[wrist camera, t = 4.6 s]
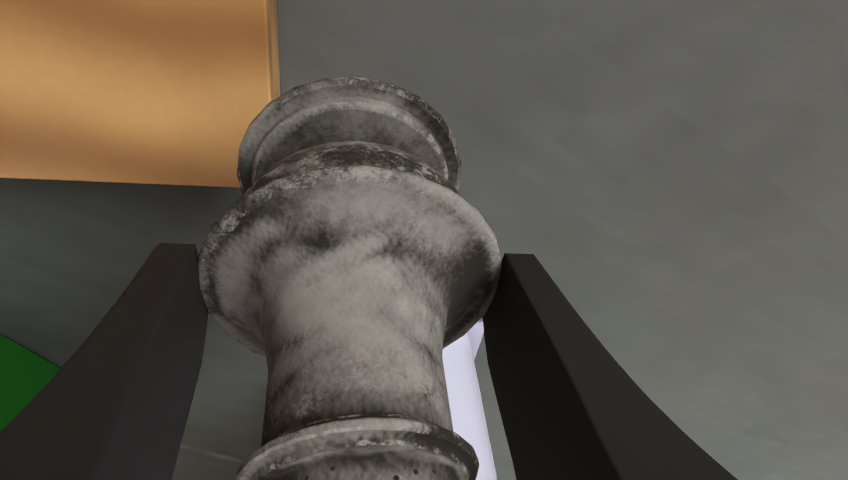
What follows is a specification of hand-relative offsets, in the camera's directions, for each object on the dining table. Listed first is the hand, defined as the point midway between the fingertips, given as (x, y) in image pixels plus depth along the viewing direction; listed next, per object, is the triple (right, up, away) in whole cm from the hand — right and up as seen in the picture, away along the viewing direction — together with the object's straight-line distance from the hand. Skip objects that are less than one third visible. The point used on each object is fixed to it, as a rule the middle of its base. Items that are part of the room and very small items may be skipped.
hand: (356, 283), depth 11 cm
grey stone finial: (0, +3, +2) cm, 4 cm away
